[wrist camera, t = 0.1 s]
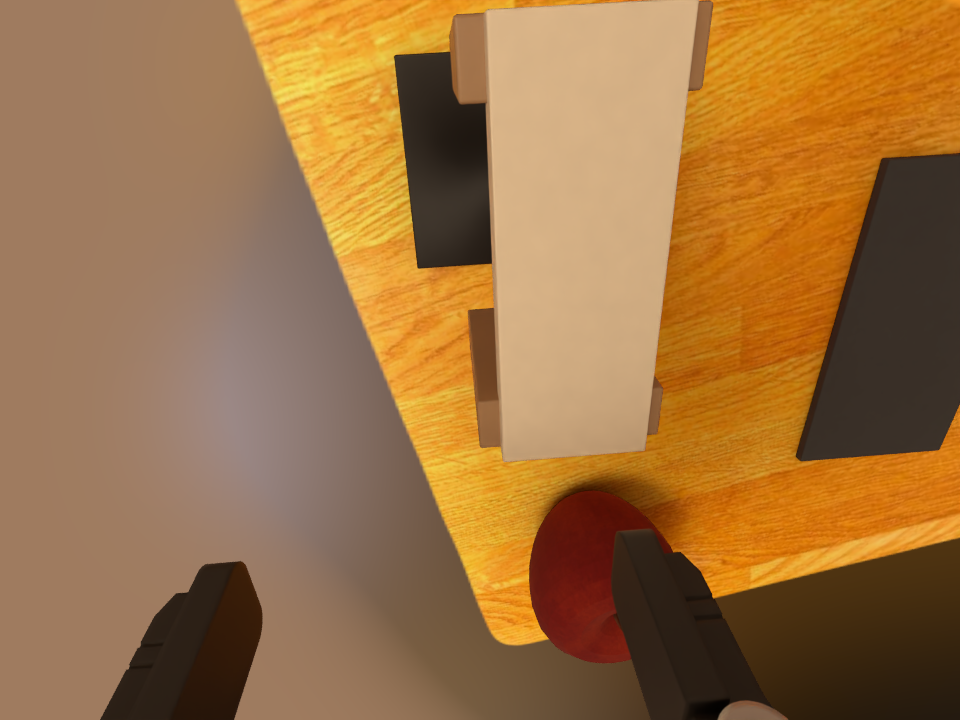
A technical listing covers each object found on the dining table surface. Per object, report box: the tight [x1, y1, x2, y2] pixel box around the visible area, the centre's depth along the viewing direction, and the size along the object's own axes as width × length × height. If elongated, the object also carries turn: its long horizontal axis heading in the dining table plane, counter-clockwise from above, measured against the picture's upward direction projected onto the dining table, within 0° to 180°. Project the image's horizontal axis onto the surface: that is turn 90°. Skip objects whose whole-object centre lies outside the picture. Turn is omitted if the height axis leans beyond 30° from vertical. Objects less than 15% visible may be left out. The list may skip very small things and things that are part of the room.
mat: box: [796, 153, 960, 461], centre depth 33 cm, size 20×10×1 cm, turn 3°
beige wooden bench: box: [449, 0, 713, 462], centre depth 16 cm, size 11×5×7 cm, turn 3°
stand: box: [394, 52, 492, 268], centre depth 21 cm, size 10×10×16 cm
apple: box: [529, 491, 673, 663], centre depth 35 cm, size 10×10×10 cm
